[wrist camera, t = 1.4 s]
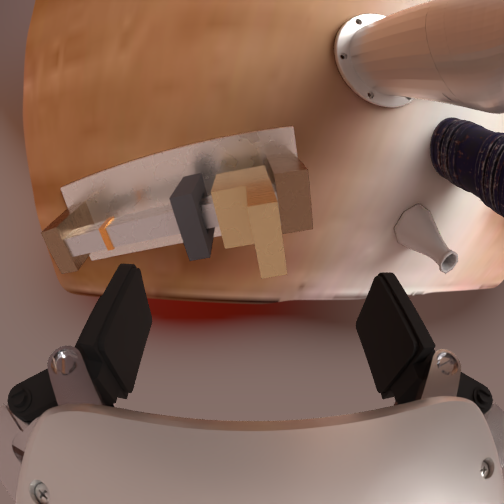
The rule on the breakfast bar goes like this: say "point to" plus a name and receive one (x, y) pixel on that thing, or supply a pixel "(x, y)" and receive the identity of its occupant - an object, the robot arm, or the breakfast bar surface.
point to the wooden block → (250, 216)
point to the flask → (424, 237)
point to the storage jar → (471, 159)
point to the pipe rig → (161, 188)
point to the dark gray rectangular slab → (192, 216)
